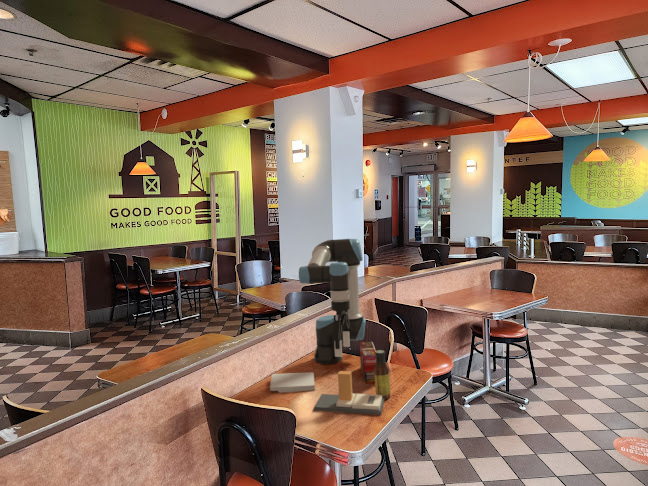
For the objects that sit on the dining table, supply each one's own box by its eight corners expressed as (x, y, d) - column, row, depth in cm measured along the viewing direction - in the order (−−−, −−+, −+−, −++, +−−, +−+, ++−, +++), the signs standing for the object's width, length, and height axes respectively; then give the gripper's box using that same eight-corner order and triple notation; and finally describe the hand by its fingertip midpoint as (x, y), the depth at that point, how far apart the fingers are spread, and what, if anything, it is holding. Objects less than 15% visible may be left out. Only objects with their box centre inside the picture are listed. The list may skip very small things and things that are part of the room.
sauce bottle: (393, 396, 184) (391, 351, 182) (384, 401, 179) (382, 355, 178) (381, 392, 188) (379, 348, 187) (372, 397, 184) (370, 352, 182)
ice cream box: (379, 383, 197) (377, 355, 196) (365, 384, 197) (363, 356, 196) (373, 367, 217) (372, 341, 216) (360, 368, 217) (359, 342, 216)
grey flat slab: (313, 378, 209) (272, 380, 208) (313, 372, 209) (272, 374, 208) (314, 392, 194) (270, 394, 193) (314, 385, 194) (270, 387, 193)
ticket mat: (321, 397, 186) (321, 390, 186) (384, 401, 180) (384, 393, 179) (314, 410, 175) (314, 403, 175) (380, 414, 168) (380, 407, 168)
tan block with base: (341, 395, 183) (340, 367, 182) (355, 396, 182) (353, 368, 180) (336, 406, 173) (334, 377, 172) (351, 407, 172) (349, 377, 171)
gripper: (341, 306, 163) (344, 361, 164) (355, 294, 187) (358, 343, 188) (322, 306, 165) (325, 360, 166) (339, 294, 189) (341, 342, 190)
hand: (342, 351), depth 177 cm, fingers open, 13 cm apart
